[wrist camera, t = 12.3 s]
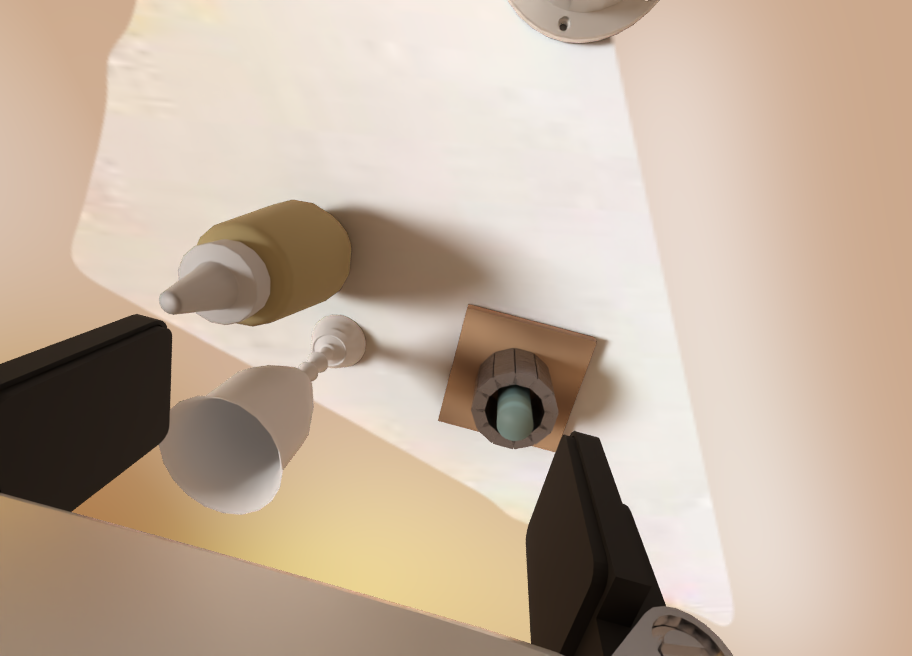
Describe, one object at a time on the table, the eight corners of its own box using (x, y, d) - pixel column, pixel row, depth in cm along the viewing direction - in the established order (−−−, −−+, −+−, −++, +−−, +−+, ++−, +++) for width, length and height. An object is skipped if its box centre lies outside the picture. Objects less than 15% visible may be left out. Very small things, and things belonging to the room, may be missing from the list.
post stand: (468, 304, 39) (458, 336, 31) (594, 337, 38) (616, 377, 31) (439, 414, 42) (424, 467, 35) (554, 444, 42) (565, 505, 34)
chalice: (292, 307, 40) (138, 402, 24) (365, 297, 39) (258, 389, 22) (313, 382, 43) (186, 518, 26) (383, 374, 42) (298, 510, 25)
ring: (487, 340, 38) (484, 363, 34) (561, 360, 38) (568, 386, 33) (468, 405, 40) (463, 435, 36) (538, 424, 40) (542, 457, 36)
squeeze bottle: (265, 199, 38) (68, 217, 21) (360, 195, 37) (234, 212, 20) (280, 293, 40) (115, 379, 23) (369, 293, 39) (265, 381, 22)
